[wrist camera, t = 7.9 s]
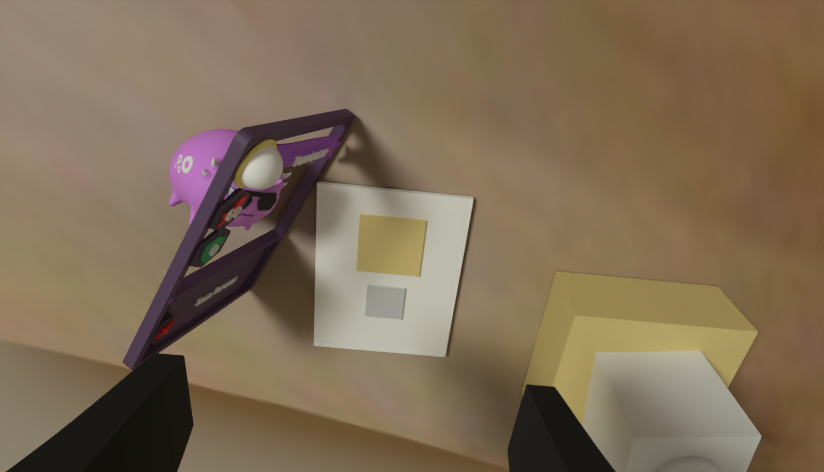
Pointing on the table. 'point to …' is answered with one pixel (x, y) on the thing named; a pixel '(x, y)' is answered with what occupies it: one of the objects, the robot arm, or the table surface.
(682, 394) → the top brick
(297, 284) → the table surface
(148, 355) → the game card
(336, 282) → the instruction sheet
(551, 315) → the base brick
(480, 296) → the table surface
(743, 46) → the table surface
